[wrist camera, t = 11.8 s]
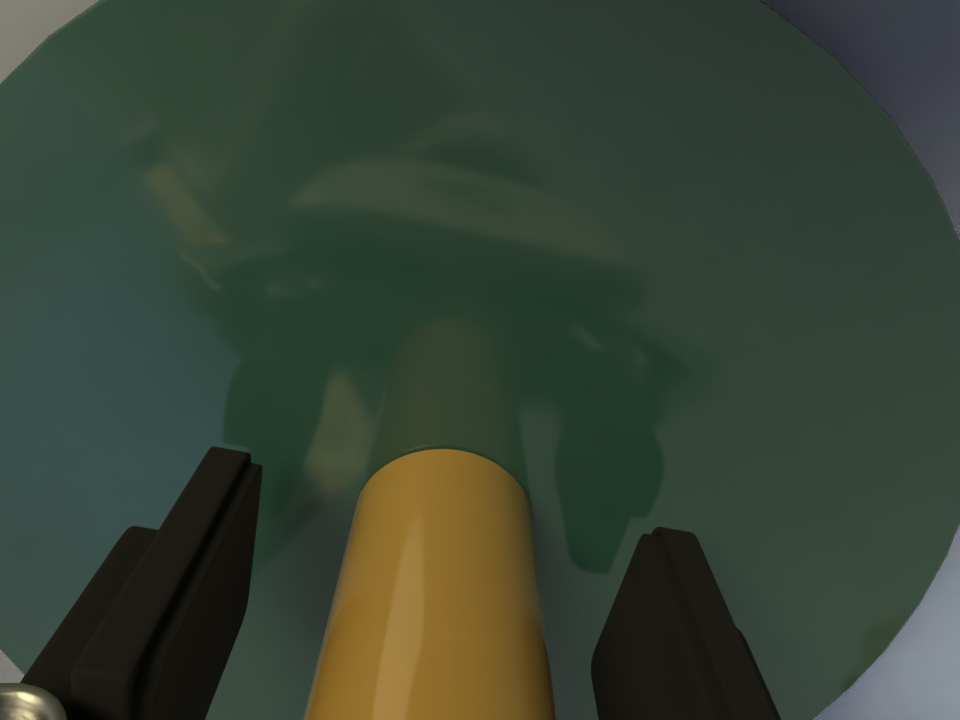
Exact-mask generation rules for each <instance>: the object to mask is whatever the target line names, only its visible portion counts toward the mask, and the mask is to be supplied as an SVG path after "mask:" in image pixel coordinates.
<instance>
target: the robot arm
mask: <svg viewBox="0 0 960 720" xmlns="http://www.w3.org/2000/svg"><path fill="white" fill-rule="evenodd" d="M262 474H263V466H262V465H260V464H254V463H251V454H250V453H248V452H243V451H237V450H232V449H226V448H221V447H215V446H212V447H210V449H209V450H208V451H207V453H206V455H205V456H204V458H203V459H202V461H201V463H200V464H199V466H198V467H197V469H196V471H195V472H194V474H193V475H192V477H191V479H190V480H189V482H188V483H187V485H186V487H185V488H184V490H183V491H182V493H181V495H180V496H179V498H178V499H177V501H176V503H175V504H174V506H173V507H172V509H171V511H170V512H169V514H168V515H167V517H166V519H165V520H164V522H163V523H162V525H161V527H160V528H159V530H157V529H151V528H145V527H139V526H131V527H130V528H128V529H127V530H126V531H125V532H124V533H123V535H122V536H121V537H120V538H119V540H118V541H117V543H116V544H115V546H114V547H113V549H112V550H111V552H110V553H109V554H108V556H107V557H106V559H105V560H104V562H103V563H102V565H101V566H100V567H99V569H98V570H97V572H96V573H95V575H94V576H93V578H92V579H91V581H90V582H89V583H88V585H87V586H86V588H85V589H84V591H83V592H82V594H81V595H80V596H79V598H78V599H77V601H76V602H75V604H74V605H73V607H72V608H71V609H70V611H69V612H68V614H67V615H66V617H65V618H64V620H63V621H62V623H61V624H60V625H59V627H58V628H57V630H56V631H55V633H54V634H53V636H52V637H51V638H50V640H49V641H48V643H47V644H46V646H45V647H44V649H43V650H42V651H41V653H40V654H39V656H38V657H37V659H36V660H35V662H34V663H33V665H32V666H31V667H30V669H29V670H28V672H27V673H26V675H25V676H24V678H23V679H22V680H21V682H20V683H0V720H205V718H206V716H207V713H208V711H209V708H210V705H211V703H212V700H213V698H214V695H215V693H216V690H217V687H218V685H219V682H220V680H221V677H222V674H223V672H224V669H225V667H226V664H227V662H228V659H229V656H230V654H231V651H232V649H233V646H234V643H235V641H236V638H237V636H238V633H239V631H240V628H241V625H242V623H243V620H244V616H245V613H246V609H247V604H248V599H249V591H250V582H251V573H252V564H253V555H254V546H255V537H256V528H257V519H258V510H259V501H260V492H261V483H262ZM591 680H592V685H593V691H594V696H595V702H596V708H597V713H598V719H599V720H781V718H780V715H779V713H778V711H777V709H776V706H775V704H774V702H773V700H772V697H771V695H770V693H769V691H768V688H767V686H766V684H765V682H764V679H763V677H762V675H761V673H760V670H759V668H758V666H757V664H756V661H755V659H754V657H753V654H752V652H751V650H750V648H749V645H748V643H747V641H746V639H745V637H744V636H743V634H742V632H741V631H740V630H739V629H738V628H736V626H735V623H734V621H733V619H732V617H731V614H730V612H729V610H728V607H727V605H726V603H725V600H724V598H723V596H722V594H721V591H720V589H719V587H718V584H717V582H716V580H715V577H714V575H713V573H712V571H711V568H710V566H709V564H708V561H707V559H706V557H705V555H704V552H703V550H702V548H701V545H700V543H699V541H698V538H697V537H696V535H695V534H694V533H692V532H687V531H682V530H676V529H670V528H665V527H656V528H655V529H654V530H653V531H652V533H651V534H646V533H645V534H643V535H642V536H641V537H640V539H639V541H638V543H637V546H636V548H635V551H634V553H633V556H632V558H631V561H630V563H629V566H628V568H627V571H626V573H625V576H624V578H623V581H622V583H621V586H620V588H619V590H618V593H617V595H616V598H615V600H614V603H613V605H612V608H611V610H610V613H609V615H608V618H607V620H606V623H605V625H604V628H603V630H602V633H601V635H600V637H599V640H598V642H597V645H596V647H595V650H594V653H593V656H592V661H591Z"/></svg>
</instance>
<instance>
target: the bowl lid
mask: <svg viewBox="0 0 960 720" xmlns="http://www.w3.org/2000/svg"><path fill="white" fill-rule="evenodd" d="M212 446H215V447H221V448H226V449H232V450H237V451H243V452H248V453H250V454H251V463H254V464H260V465H262V466H263V474H262V483H261V492H260V501H259V510H258V519H257V528H256V537H255V546H254V555H253V564H252V573H251V582H250V591H249V599H248V604H247V609H246V613H245V616H244V620H243V623H242V625H241V628H240V631H239V633H238V636H237V638H236V641H235V643H234V646H233V649H232V651H231V654H230V656H229V659H228V662H227V664H226V667H225V669H224V672H223V674H222V677H221V680H220V682H219V685H218V687H217V690H216V693H215V695H214V698H213V700H212V703H211V705H210V708H209V711H208V713H207V716H206V718H205V720H599V719H598V713H597V708H596V702H595V696H594V691H593V685H592V680H591V661H592V656H593V653H594V650H595V647H596V645H597V642H598V640H599V637H600V635H601V633H602V630H603V628H604V625H605V623H606V620H607V618H608V615H609V613H610V610H611V608H612V605H613V603H614V600H615V598H616V595H617V593H618V590H619V588H620V586H621V583H622V581H623V578H624V576H625V573H626V571H627V568H628V566H629V563H630V561H631V558H632V556H633V553H634V551H635V548H636V546H637V543H638V541H639V539H640V537H641V536H642V535H643V534H645V533H646V534H651V533H652V531H653V530H654V529H655V528H656V527H665V528H670V529H676V530H682V531H687V532H692V533H694V534H695V535H696V537H697V538H698V541H699V543H700V545H701V548H702V550H703V552H704V555H705V557H706V559H707V561H708V564H709V566H710V568H711V571H712V573H713V575H714V577H715V580H716V582H717V584H718V587H719V589H720V591H721V594H722V596H723V598H724V600H725V603H726V605H727V607H728V610H729V612H730V614H731V617H732V619H733V621H734V623H735V626H736V628H738V629H739V630H740V631H741V632H742V634H743V636H744V637H745V639H746V641H747V643H748V645H749V648H750V650H751V652H752V654H753V657H754V659H755V661H756V664H757V666H758V668H759V670H760V673H761V675H762V677H763V679H764V682H765V684H766V686H767V688H768V691H769V693H770V695H771V697H772V700H773V702H774V704H775V706H776V709H777V711H778V713H779V715H780V718H781V720H813V719H814V718H815V717H816V716H817V715H818V714H820V713H821V712H822V711H823V710H824V709H825V708H827V707H828V706H829V705H830V704H831V703H833V702H834V701H835V700H836V699H837V698H838V697H840V696H841V695H842V694H843V693H844V692H846V691H847V690H848V689H849V688H850V687H851V686H852V685H853V684H854V683H855V682H856V681H857V680H858V679H859V677H860V676H861V675H862V674H863V673H864V672H865V671H866V670H867V669H868V668H869V667H870V666H871V665H872V664H873V663H874V662H875V660H876V659H877V658H878V657H879V656H880V655H881V654H882V653H883V652H884V651H885V650H886V649H887V647H888V646H889V645H890V643H891V642H892V641H893V639H894V638H895V637H896V635H897V634H898V633H899V631H900V630H901V629H902V627H903V626H904V625H905V623H906V622H907V621H908V619H909V618H910V616H911V615H912V614H913V612H914V611H915V610H916V608H917V607H918V606H919V604H920V603H921V601H922V599H923V597H924V595H925V594H926V592H927V590H928V588H929V586H930V585H931V583H932V581H933V579H934V578H935V576H936V574H937V572H938V570H939V569H940V567H941V565H942V563H943V561H944V560H945V558H946V556H947V554H948V551H949V549H950V546H951V544H952V541H953V539H954V536H955V534H956V531H957V529H958V526H959V523H960V240H959V238H958V235H957V233H956V231H955V229H954V226H953V224H952V222H951V220H950V217H949V215H948V213H947V211H946V208H945V206H944V204H943V202H942V199H941V197H940V195H939V193H938V190H937V188H936V186H935V184H934V181H933V180H932V178H931V177H930V175H929V174H928V172H927V171H926V169H925V168H924V166H923V165H922V163H921V162H920V160H919V159H918V157H917V156H916V154H915V153H914V151H913V150H912V148H911V147H910V145H909V144H908V142H907V141H906V139H905V138H904V136H903V135H902V133H901V132H900V130H899V129H898V127H897V126H896V124H895V123H894V121H893V120H892V118H891V117H890V116H889V115H888V114H887V112H886V111H885V110H884V109H883V108H882V107H881V106H880V105H879V104H878V103H877V102H876V101H875V100H874V99H873V98H872V96H871V95H870V94H869V93H868V92H867V91H866V90H865V89H864V88H863V87H862V86H861V85H860V84H859V83H858V82H857V80H856V79H855V78H854V77H853V76H852V75H851V74H850V73H849V72H848V71H847V70H846V69H845V68H844V67H843V66H842V64H841V63H840V62H839V61H838V60H837V59H836V58H835V57H834V56H833V55H831V54H830V53H829V52H828V51H826V50H825V49H824V48H822V47H821V46H820V45H818V44H817V43H816V42H815V41H813V40H812V39H811V38H809V37H808V36H807V35H805V34H804V33H803V32H801V31H800V30H799V29H798V28H796V27H795V26H794V25H792V24H791V23H790V22H788V21H787V20H786V19H785V18H783V17H782V16H781V15H779V14H778V13H777V12H775V11H774V10H773V9H771V8H770V7H769V6H768V5H766V4H765V3H763V2H762V1H760V0H99V1H98V2H97V3H95V4H94V5H92V6H91V7H89V8H88V9H87V10H85V11H84V12H82V13H81V14H79V15H78V16H77V17H75V18H74V19H72V20H71V21H69V22H68V23H66V24H65V25H64V26H62V27H61V28H59V29H58V30H56V31H55V32H54V33H52V34H51V35H49V36H48V37H47V38H46V39H45V40H44V41H43V42H42V43H41V44H40V45H39V46H38V47H37V48H36V49H35V50H34V51H33V52H32V53H31V54H30V55H29V56H28V57H27V58H26V59H25V60H24V61H23V62H22V63H21V64H20V65H19V66H18V67H17V68H16V69H15V70H14V71H13V72H12V73H11V74H10V75H9V76H8V77H7V78H6V79H5V80H4V81H3V82H2V83H1V84H0V649H1V650H2V651H3V652H4V654H5V655H6V656H7V657H8V658H9V659H10V660H11V661H12V662H13V663H14V664H15V665H16V666H17V667H18V668H19V670H20V671H21V672H22V673H23V674H24V675H26V673H27V672H28V670H29V669H30V667H31V666H32V665H33V663H34V662H35V660H36V659H37V657H38V656H39V654H40V653H41V651H42V650H43V649H44V647H45V646H46V644H47V643H48V641H49V640H50V638H51V637H52V636H53V634H54V633H55V631H56V630H57V628H58V627H59V625H60V624H61V623H62V621H63V620H64V618H65V617H66V615H67V614H68V612H69V611H70V609H71V608H72V607H73V605H74V604H75V602H76V601H77V599H78V598H79V596H80V595H81V594H82V592H83V591H84V589H85V588H86V586H87V585H88V583H89V582H90V581H91V579H92V578H93V576H94V575H95V573H96V572H97V570H98V569H99V567H100V566H101V565H102V563H103V562H104V560H105V559H106V557H107V556H108V554H109V553H110V552H111V550H112V549H113V547H114V546H115V544H116V543H117V541H118V540H119V538H120V537H121V536H122V535H123V533H124V532H125V531H126V530H127V529H128V528H130V527H131V526H139V527H145V528H151V529H157V530H159V528H160V527H161V525H162V523H163V522H164V520H165V519H166V517H167V515H168V514H169V512H170V511H171V509H172V507H173V506H174V504H175V503H176V501H177V499H178V498H179V496H180V495H181V493H182V491H183V490H184V488H185V487H186V485H187V483H188V482H189V480H190V479H191V477H192V475H193V474H194V472H195V471H196V469H197V467H198V466H199V464H200V463H201V461H202V459H203V458H204V456H205V455H206V453H207V451H208V450H209V449H210V447H212Z"/></svg>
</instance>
